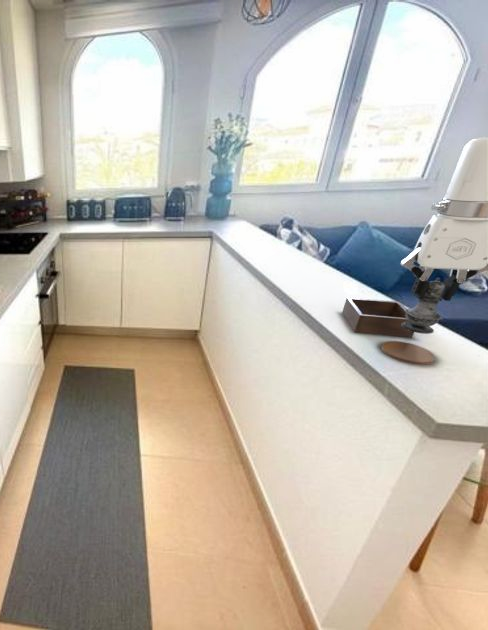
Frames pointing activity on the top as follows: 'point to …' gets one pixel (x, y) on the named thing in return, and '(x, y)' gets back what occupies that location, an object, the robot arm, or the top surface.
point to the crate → (376, 317)
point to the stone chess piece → (425, 310)
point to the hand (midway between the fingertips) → (430, 296)
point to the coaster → (408, 352)
